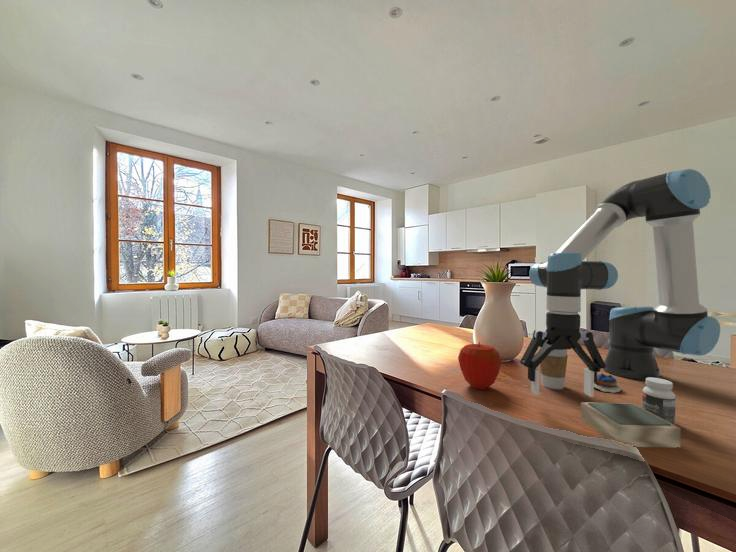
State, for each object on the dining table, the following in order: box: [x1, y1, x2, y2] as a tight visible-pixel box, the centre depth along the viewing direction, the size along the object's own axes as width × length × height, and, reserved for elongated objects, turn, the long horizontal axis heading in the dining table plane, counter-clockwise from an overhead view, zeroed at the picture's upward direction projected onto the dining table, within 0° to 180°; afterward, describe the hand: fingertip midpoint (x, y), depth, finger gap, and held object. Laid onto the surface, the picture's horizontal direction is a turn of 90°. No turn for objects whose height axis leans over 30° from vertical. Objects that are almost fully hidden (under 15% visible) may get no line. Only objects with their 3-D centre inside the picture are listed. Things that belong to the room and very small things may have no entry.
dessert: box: [594, 372, 622, 394], centre depth 94 cm, size 8×7×6 cm
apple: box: [457, 341, 502, 391], centre depth 96 cm, size 12×12×14 cm
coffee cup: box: [538, 337, 569, 390], centre depth 97 cm, size 8×8×15 cm
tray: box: [580, 401, 682, 449], centre depth 69 cm, size 12×12×4 cm
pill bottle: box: [641, 377, 676, 426], centre depth 73 cm, size 6×6×10 cm
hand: (561, 394), depth 81 cm, fingers open, 13 cm apart
